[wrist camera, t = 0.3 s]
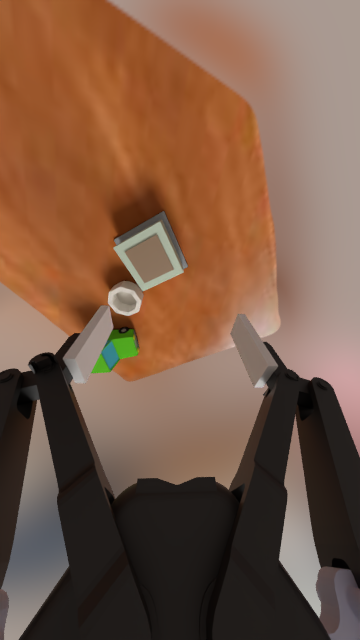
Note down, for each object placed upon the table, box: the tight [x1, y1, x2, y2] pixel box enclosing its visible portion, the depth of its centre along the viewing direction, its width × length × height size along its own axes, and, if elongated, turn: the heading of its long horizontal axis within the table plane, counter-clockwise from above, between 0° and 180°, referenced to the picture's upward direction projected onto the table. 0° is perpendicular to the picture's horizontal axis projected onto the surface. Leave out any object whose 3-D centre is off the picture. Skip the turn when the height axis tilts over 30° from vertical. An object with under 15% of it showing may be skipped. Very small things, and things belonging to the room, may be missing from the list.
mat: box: [114, 211, 188, 269], centre depth 36 cm, size 12×12×1 cm
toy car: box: [91, 327, 139, 373], centre depth 46 cm, size 10×13×10 cm
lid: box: [114, 219, 183, 291], centre depth 33 cm, size 10×10×5 cm
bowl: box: [108, 281, 143, 316], centre depth 40 cm, size 8×8×4 cm
